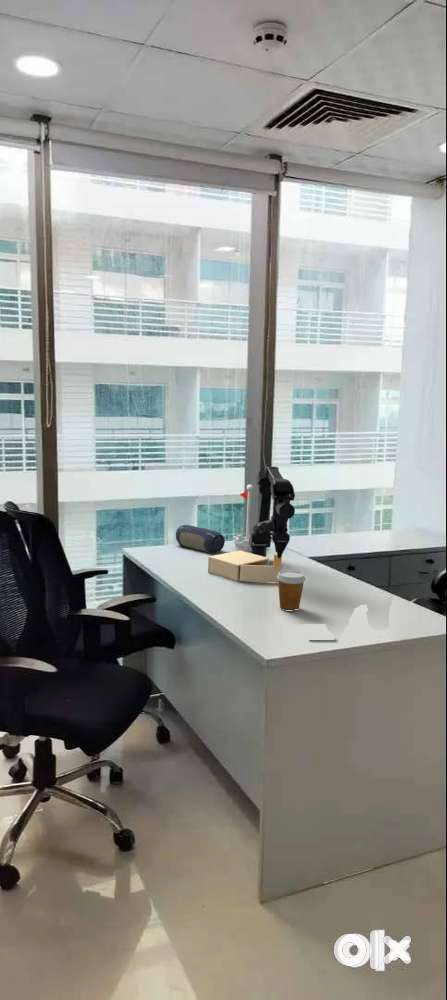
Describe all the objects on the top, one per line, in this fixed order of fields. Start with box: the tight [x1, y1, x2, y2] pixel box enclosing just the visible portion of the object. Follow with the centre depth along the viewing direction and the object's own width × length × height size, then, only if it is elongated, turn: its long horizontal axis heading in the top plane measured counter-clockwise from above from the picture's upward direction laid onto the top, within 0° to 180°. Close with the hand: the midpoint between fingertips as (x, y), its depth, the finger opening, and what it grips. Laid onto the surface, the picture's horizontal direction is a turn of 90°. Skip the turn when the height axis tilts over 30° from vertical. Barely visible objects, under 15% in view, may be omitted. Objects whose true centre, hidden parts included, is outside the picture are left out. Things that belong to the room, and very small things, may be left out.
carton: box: [207, 550, 270, 583], centre depth 260 cm, size 18×16×6 cm
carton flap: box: [239, 554, 283, 583], centre depth 248 cm, size 16×1×11 cm, turn 91°
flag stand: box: [232, 484, 254, 553], centre depth 301 cm, size 13×13×30 cm
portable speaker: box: [175, 524, 226, 554], centre depth 298 cm, size 25×10×10 cm, turn 50°
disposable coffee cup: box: [277, 570, 306, 611], centre depth 219 cm, size 10×10×12 cm
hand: (278, 554), depth 247 cm, fingers open, 9 cm apart
